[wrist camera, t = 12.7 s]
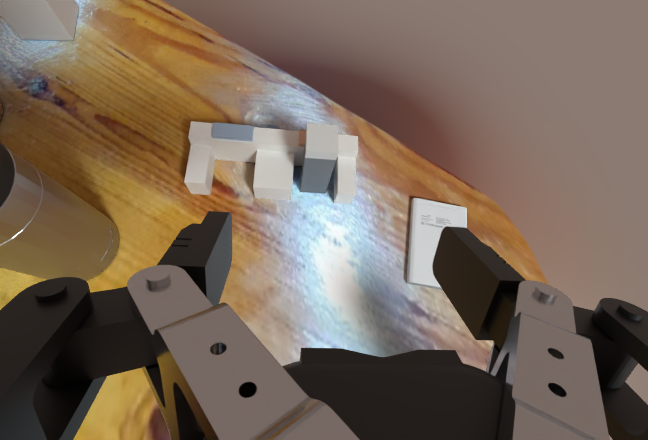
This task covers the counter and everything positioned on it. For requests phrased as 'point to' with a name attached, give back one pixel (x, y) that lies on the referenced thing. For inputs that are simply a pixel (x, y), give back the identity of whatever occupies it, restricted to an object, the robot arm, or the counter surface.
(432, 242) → the external hard drive
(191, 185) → the socket strip
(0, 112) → the vase
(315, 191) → the grey tall block
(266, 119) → the counter surface
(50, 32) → the milk carton
